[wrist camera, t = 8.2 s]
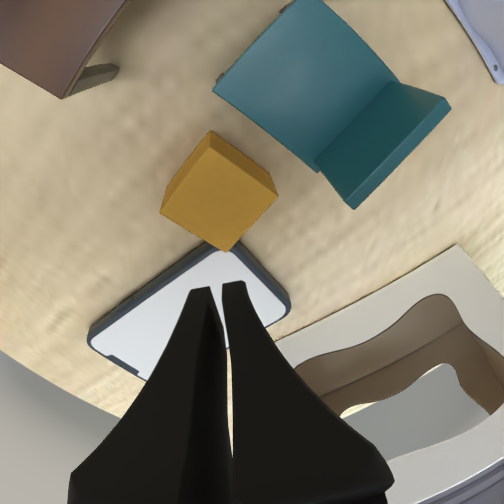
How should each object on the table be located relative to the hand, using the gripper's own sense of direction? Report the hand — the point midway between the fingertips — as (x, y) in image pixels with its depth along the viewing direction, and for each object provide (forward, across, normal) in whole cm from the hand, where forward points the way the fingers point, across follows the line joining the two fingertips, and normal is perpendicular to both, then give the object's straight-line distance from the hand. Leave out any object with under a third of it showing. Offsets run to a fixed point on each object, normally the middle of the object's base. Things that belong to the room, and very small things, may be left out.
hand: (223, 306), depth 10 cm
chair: (+10, -5, -6) cm, 13 cm away
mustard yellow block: (+10, 0, 0) cm, 10 cm away
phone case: (+11, +5, +11) cm, 16 cm away
